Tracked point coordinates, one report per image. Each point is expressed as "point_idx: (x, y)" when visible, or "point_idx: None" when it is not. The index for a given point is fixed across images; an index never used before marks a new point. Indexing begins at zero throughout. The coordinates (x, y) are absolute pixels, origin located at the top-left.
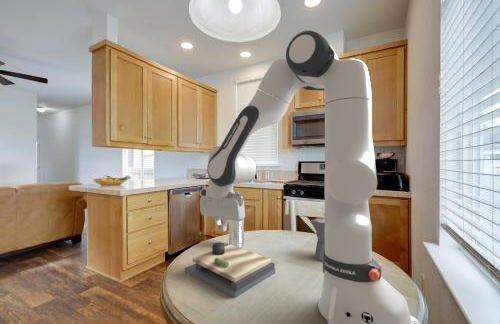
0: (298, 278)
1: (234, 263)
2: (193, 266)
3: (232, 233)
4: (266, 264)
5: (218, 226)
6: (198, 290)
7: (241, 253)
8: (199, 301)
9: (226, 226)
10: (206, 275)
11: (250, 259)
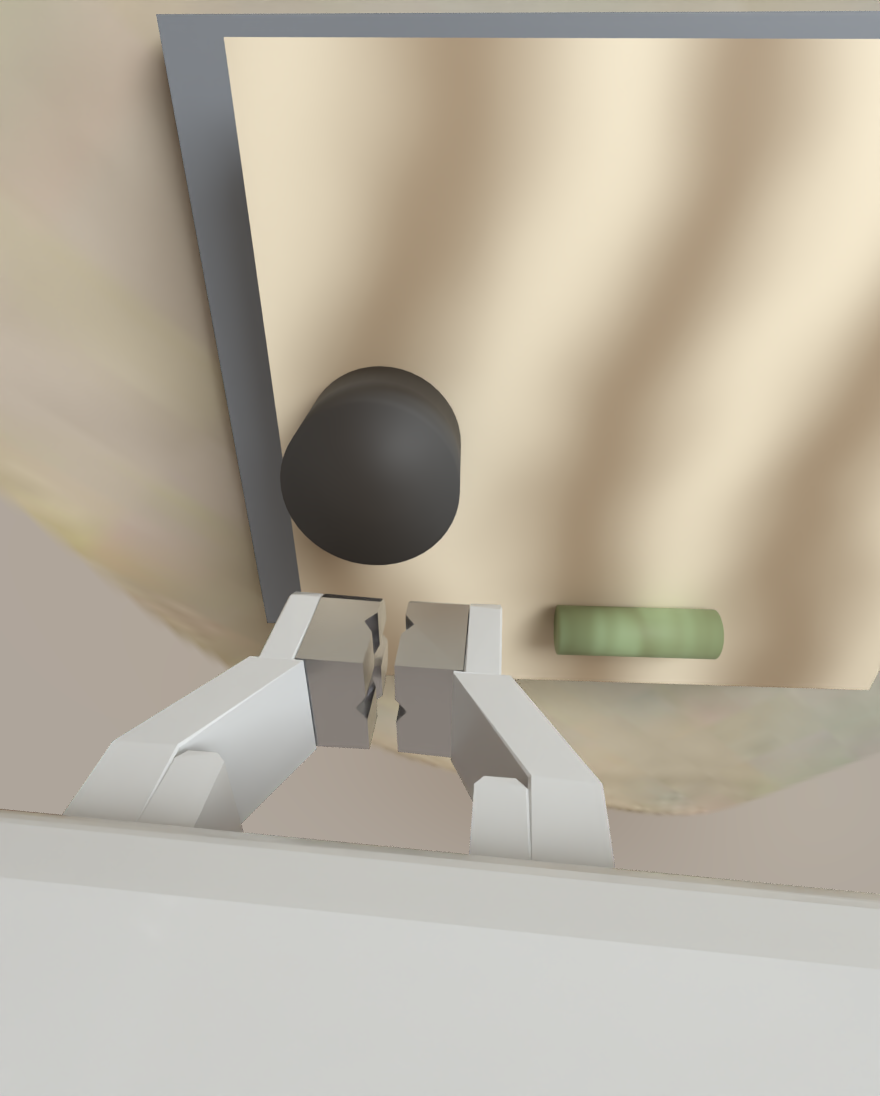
0: None
1: (726, 521)
2: (292, 575)
3: None
4: None
5: (341, 728)
6: (560, 684)
7: (641, 234)
8: (648, 737)
9: (501, 661)
10: None
11: (860, 314)
